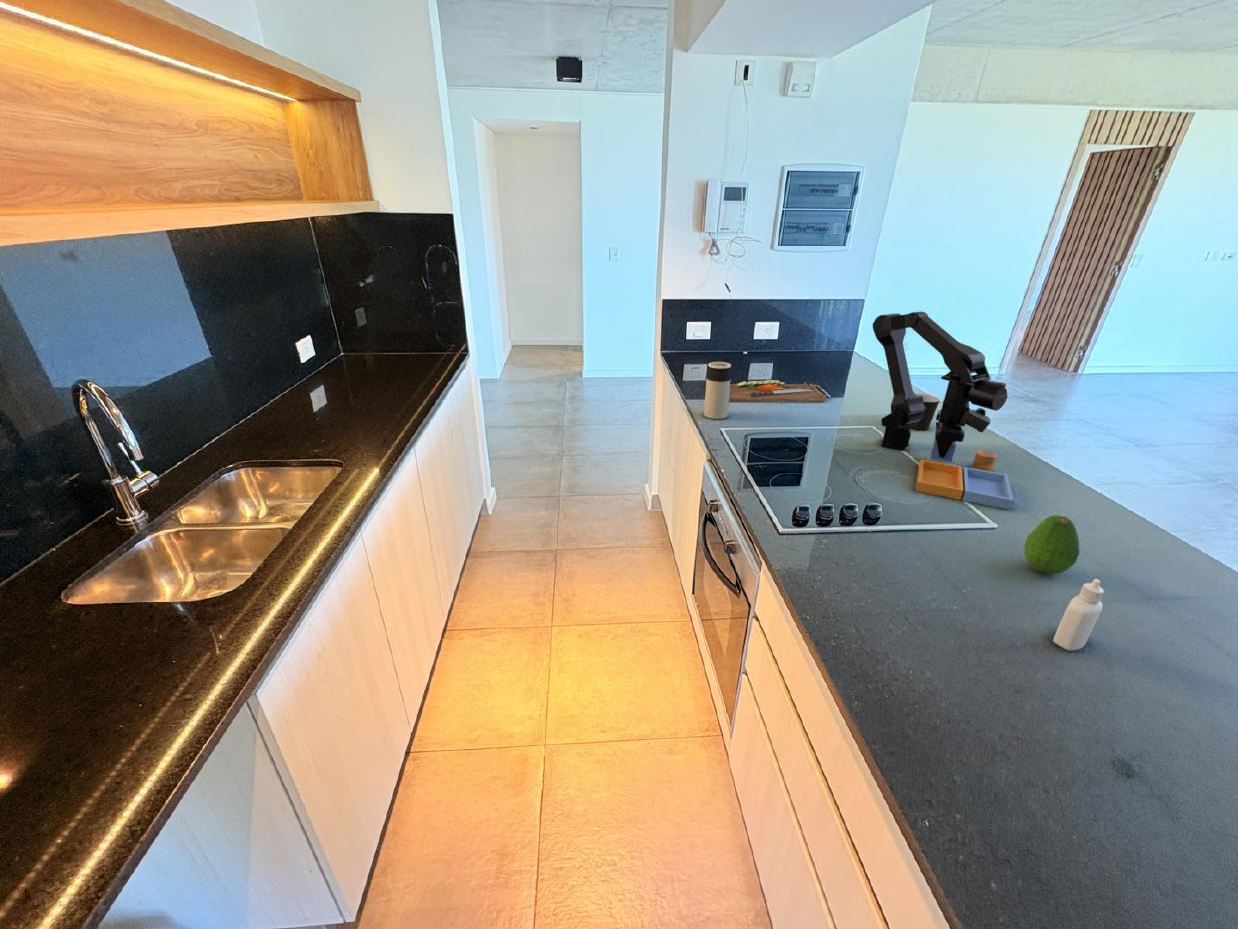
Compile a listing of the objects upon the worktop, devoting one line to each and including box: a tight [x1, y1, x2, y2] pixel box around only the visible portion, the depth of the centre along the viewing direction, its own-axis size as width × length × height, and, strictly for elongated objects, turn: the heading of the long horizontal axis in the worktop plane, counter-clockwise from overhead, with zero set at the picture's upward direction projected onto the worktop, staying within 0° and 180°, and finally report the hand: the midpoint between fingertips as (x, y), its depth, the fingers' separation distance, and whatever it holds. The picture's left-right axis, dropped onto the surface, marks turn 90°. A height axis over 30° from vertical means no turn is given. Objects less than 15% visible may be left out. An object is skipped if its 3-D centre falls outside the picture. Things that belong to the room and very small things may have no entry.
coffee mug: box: [910, 393, 941, 432], centre depth 171 cm, size 12×9×10 cm
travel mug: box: [703, 361, 732, 420], centre depth 178 cm, size 8×8×18 cm
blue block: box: [930, 436, 957, 463], centre depth 145 cm, size 5×5×5 cm
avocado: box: [1024, 514, 1080, 574], centre depth 99 cm, size 8×8×12 cm
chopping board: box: [729, 380, 832, 404], centre depth 207 cm, size 45×27×3 cm, turn 88°
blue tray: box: [961, 466, 1015, 511], centre depth 130 cm, size 10×16×3 cm, turn 150°
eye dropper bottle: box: [1053, 578, 1105, 652], centre depth 82 cm, size 4×6×12 cm
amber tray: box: [915, 458, 963, 501], centre depth 135 cm, size 10×16×3 cm, turn 150°
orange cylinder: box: [971, 449, 998, 472], centre depth 141 cm, size 5×5×5 cm
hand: (941, 453), depth 145 cm, fingers closed on blue block, 5 cm apart
